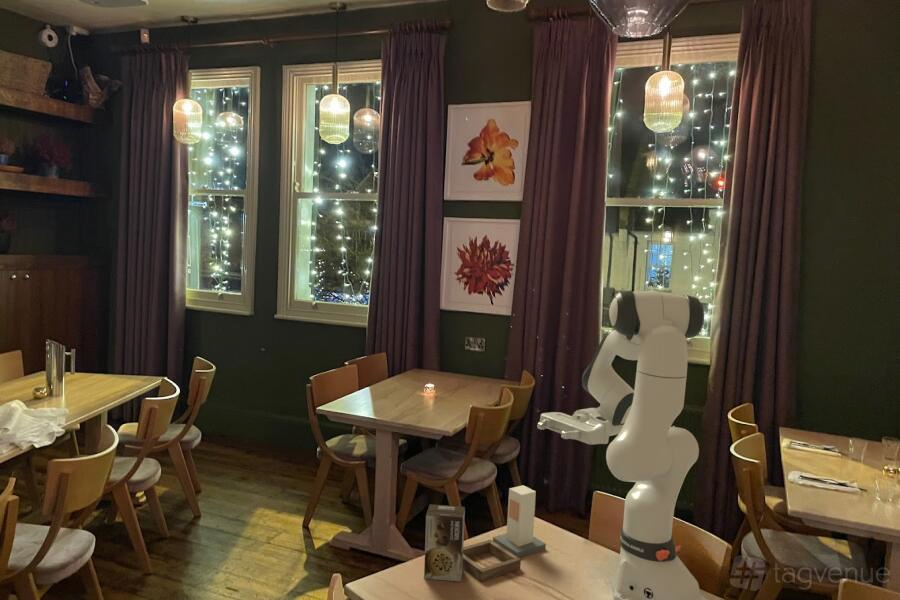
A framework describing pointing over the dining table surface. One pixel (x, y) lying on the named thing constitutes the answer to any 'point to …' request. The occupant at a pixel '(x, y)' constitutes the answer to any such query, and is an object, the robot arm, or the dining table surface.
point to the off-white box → (521, 515)
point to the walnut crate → (495, 570)
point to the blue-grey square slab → (520, 550)
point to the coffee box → (444, 542)
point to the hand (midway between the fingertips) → (550, 430)
